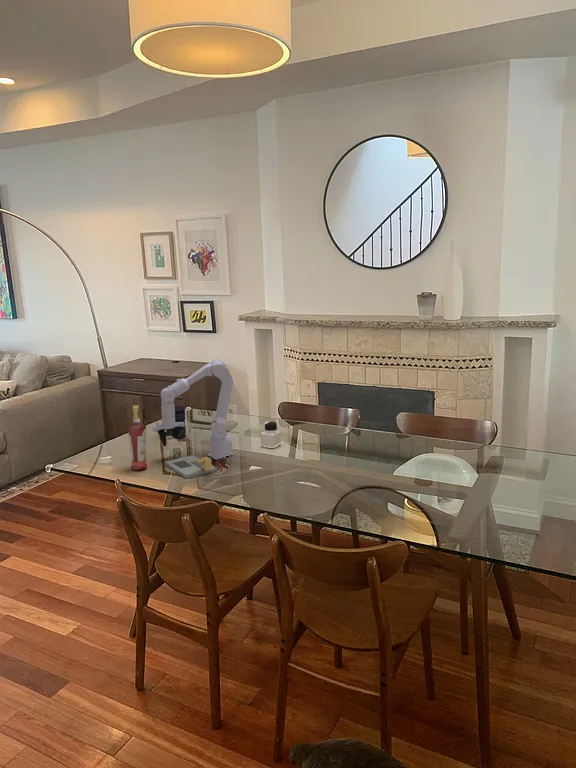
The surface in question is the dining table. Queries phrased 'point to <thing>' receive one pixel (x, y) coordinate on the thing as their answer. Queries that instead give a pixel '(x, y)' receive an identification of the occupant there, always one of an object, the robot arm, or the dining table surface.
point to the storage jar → (179, 418)
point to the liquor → (137, 441)
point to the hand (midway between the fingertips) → (169, 444)
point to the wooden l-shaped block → (205, 463)
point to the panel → (187, 466)
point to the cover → (171, 442)
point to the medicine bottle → (270, 434)
